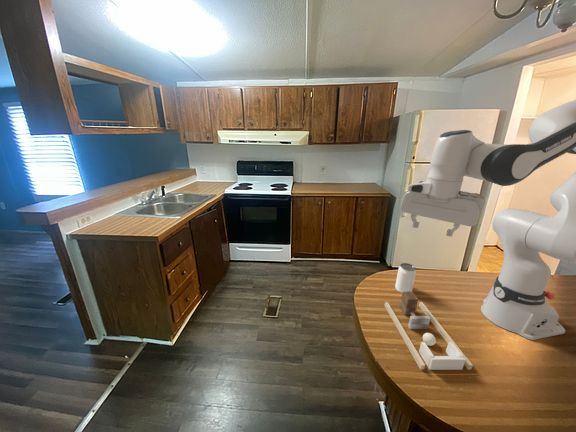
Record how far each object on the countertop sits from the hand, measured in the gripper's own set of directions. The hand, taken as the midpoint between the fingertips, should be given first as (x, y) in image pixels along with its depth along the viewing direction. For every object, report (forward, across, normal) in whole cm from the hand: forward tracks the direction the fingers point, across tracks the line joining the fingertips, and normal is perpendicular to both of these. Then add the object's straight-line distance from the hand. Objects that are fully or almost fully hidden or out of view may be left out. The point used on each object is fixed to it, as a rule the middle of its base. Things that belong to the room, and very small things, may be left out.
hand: (431, 231), depth 72 cm
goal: (+32, -12, +15) cm, 38 cm away
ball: (+30, -8, +11) cm, 33 cm away
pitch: (+34, -5, +8) cm, 35 cm away
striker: (+32, -1, +3) cm, 32 cm away
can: (+34, +7, -12) cm, 36 cm away
